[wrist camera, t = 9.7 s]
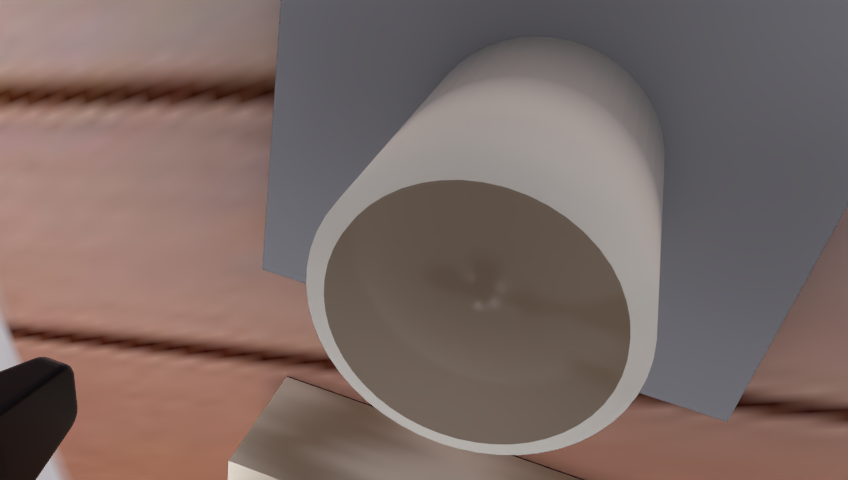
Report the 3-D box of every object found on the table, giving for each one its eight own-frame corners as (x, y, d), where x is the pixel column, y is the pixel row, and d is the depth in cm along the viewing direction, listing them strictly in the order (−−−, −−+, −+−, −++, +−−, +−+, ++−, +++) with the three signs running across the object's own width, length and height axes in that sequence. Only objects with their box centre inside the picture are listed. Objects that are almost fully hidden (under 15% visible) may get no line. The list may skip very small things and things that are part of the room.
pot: (704, 75, 16) (717, 229, 10) (618, 292, 20) (591, 503, 14) (443, 7, 17) (320, 112, 11) (403, 225, 20) (290, 396, 15)
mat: (960, -30, 15) (974, -22, 14) (725, 402, 21) (727, 421, 21) (308, -178, 17) (293, -177, 16) (274, 256, 23) (262, 269, 23)
